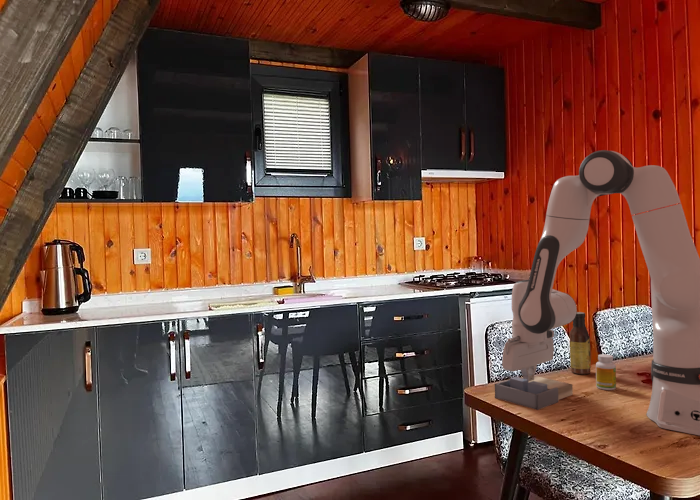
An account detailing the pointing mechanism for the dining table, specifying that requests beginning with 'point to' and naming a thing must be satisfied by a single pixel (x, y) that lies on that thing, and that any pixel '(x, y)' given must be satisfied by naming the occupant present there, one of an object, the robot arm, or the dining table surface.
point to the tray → (525, 396)
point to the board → (563, 387)
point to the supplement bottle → (605, 372)
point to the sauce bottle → (580, 346)
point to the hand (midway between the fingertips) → (528, 380)
